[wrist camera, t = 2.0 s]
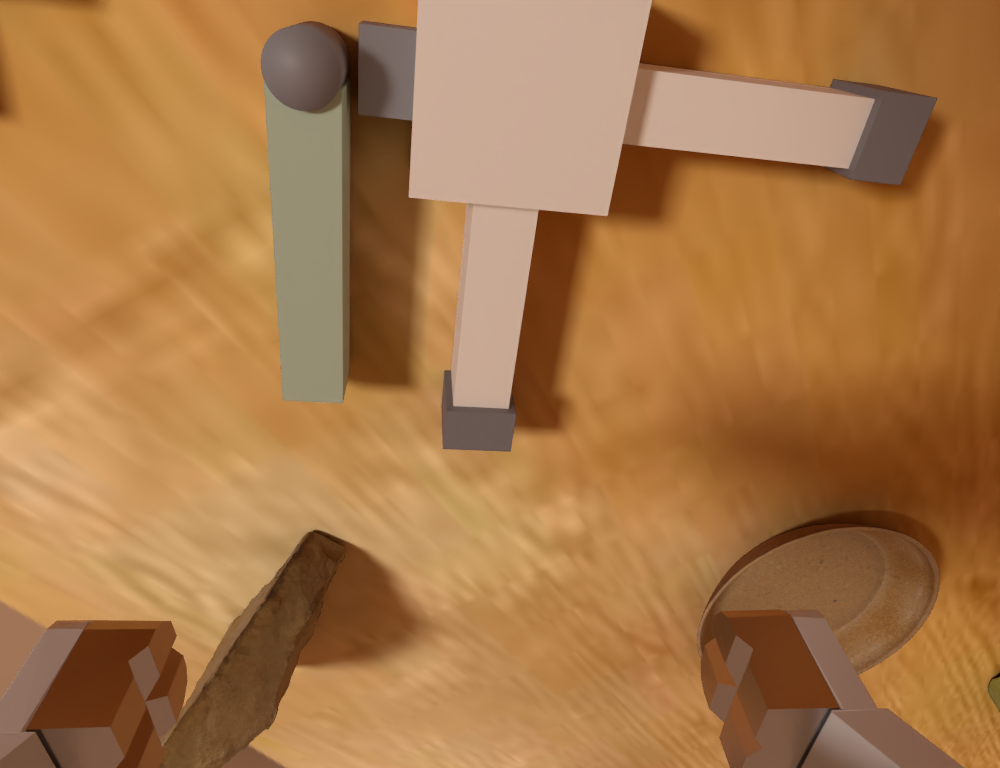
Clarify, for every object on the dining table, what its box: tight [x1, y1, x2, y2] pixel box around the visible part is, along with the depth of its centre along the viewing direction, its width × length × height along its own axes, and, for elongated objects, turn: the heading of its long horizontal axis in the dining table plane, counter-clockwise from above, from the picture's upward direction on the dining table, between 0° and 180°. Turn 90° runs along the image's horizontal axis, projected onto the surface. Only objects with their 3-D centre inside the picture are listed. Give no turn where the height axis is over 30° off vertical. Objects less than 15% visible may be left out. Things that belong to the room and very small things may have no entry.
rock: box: [159, 532, 346, 768], centre depth 35 cm, size 11×9×10 cm
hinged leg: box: [261, 21, 351, 403], centre depth 24 cm, size 14×2×3 cm, turn 173°
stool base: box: [358, 0, 937, 452], centre depth 23 cm, size 20×29×4 cm
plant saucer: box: [697, 524, 940, 675], centre depth 40 cm, size 15×15×3 cm
